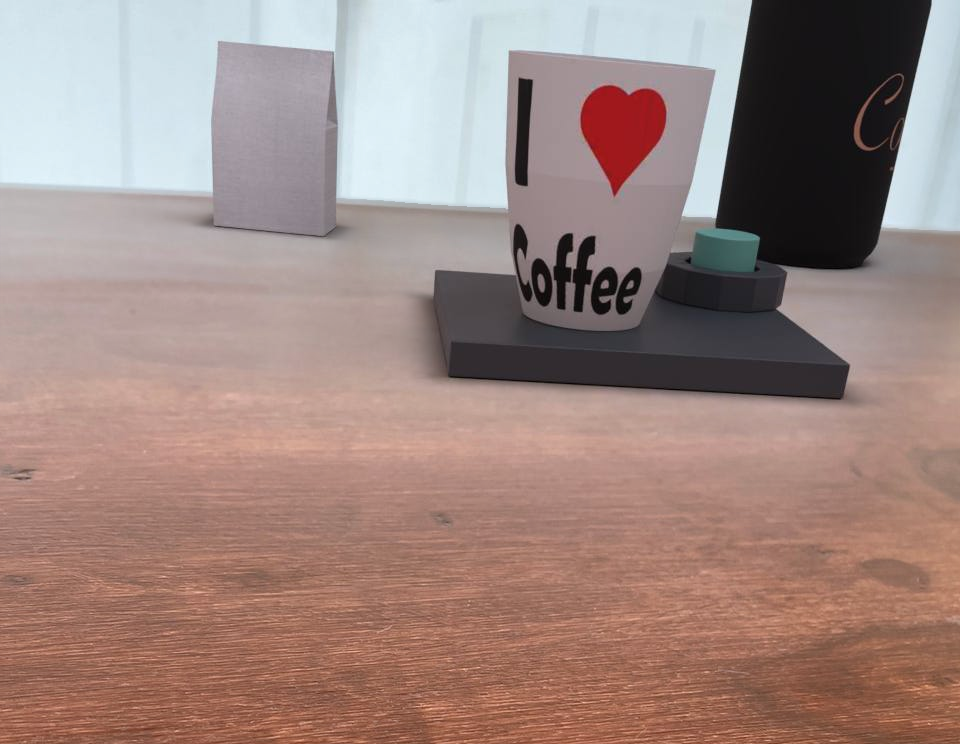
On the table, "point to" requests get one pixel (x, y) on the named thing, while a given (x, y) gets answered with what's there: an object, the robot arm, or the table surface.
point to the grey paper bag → (274, 139)
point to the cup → (597, 180)
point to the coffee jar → (819, 126)
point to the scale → (644, 336)
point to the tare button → (725, 250)
